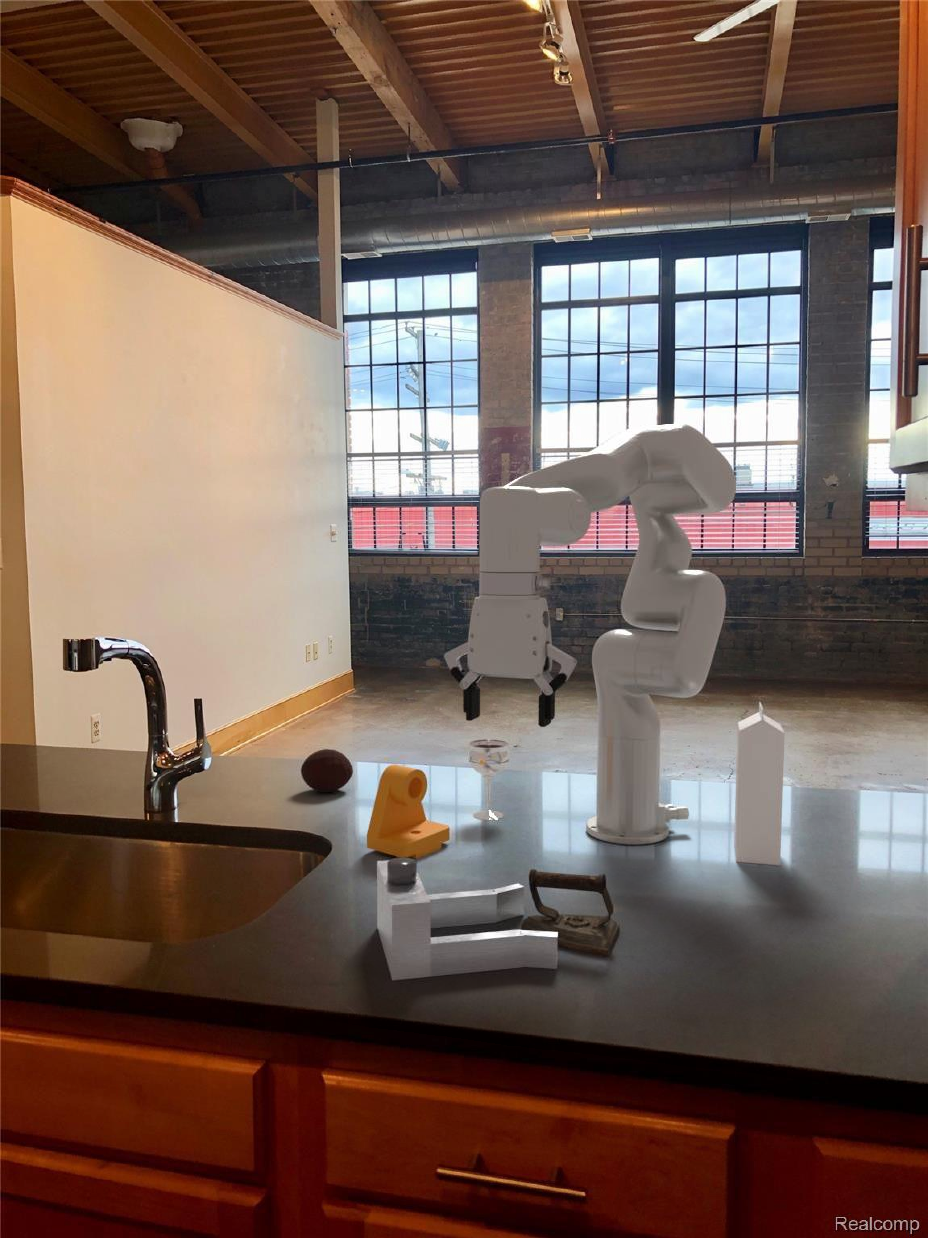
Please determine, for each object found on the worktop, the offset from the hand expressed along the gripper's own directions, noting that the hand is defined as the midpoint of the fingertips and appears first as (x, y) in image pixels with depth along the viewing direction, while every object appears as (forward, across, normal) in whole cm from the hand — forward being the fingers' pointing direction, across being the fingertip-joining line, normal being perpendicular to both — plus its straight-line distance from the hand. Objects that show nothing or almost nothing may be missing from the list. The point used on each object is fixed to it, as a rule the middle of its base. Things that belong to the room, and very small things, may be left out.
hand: (508, 721), depth 115 cm
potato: (+22, +46, -32) cm, 60 cm away
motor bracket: (+22, -1, +16) cm, 27 cm away
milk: (+22, -28, -26) cm, 45 cm away
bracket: (+23, +19, -11) cm, 31 cm away
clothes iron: (+23, -11, +9) cm, 27 cm away
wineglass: (+22, +14, -30) cm, 40 cm away
